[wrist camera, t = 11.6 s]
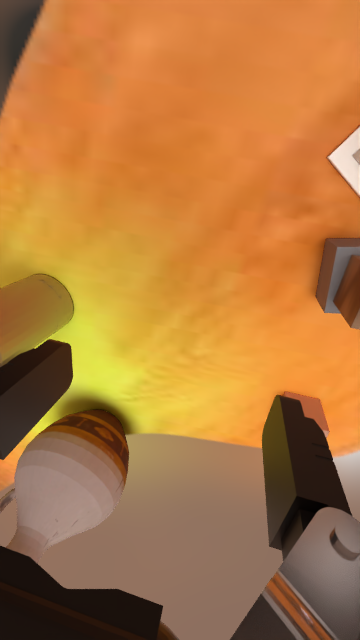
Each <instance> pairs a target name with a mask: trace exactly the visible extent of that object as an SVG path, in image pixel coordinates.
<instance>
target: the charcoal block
mask: <svg viewBox="0 0 360 640" xmlns="http://www.w3.org/2000/svg"><path fill="white" fill-rule="evenodd" d="M351 255H358V256H360V238H327V239H326V241H325V247H324V252H323V258H322V263H321V269H320V275H319V280H318V286H317V292H316V298H317V300H318V302H319V304H320V306H321V308H322V309H323V311H324V313H340V311H339V310H338V308H337V307H336V306H335V304H334V303H333V300H334V297H335V295H336V292H337V290H338V288H339V285H340V283H341V280H342V278H343V275H344V273H345V270H346V268H347V265H348V263H349V260H350V258H351Z"/></svg>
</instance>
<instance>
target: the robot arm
mask: <svg viewBox="0 0 360 640" xmlns="http://www.w3.org/2000/svg"><path fill="white" fill-rule="evenodd" d="M72 316H73V303H72V299H71V297H70V295H69V293H68V292H67V290H66V289H65V287H64V286H63V285H62V284H61V283H60V282H58V281H57V280H56V279H54V278H52V277H50V276H47V275H44V274H36V275H32V276H30V277H27V278H25V279H23V280H20V281H18V282H15V283H12V284H10V285H7V286H5V287H2V288H0V459H2V460H4V459H5V458H6V457H7V456H8V454H9V453H10V452H11V451H12V450H13V449H14V448H15V447H16V446H17V445H18V443H19V442H20V441H21V440H22V439H23V438H24V437H25V436H26V435H27V434H28V433H29V431H30V430H31V429H32V428H33V427H34V426H35V425H36V424H37V423H38V422H39V420H40V419H41V418H42V417H43V416H44V415H45V414H46V413H47V412H48V411H49V409H50V408H51V407H52V406H53V405H54V404H55V403H56V402H57V401H58V400H59V399H60V397H61V396H62V395H63V394H64V393H65V392H66V391H67V390H68V388H69V387H70V385H71V382H72V378H73V368H72V352H71V346H70V344H68V343H64V342H60V341H56V340H52V339H49V340H47V341H46V342H44V343H43V344H41V345H40V346H39V347H37V348H36V349H34V347H36V346H37V345H38V344H40V343H41V342H42V341H44V340H45V339H47V338H48V337H49V336H51V335H52V334H53V333H55V332H56V331H58V330H59V329H60V328H62V327H63V326H64V325H66V324H67V323H68V322H69V321H70V320H71V318H72ZM262 450H263V464H264V478H265V492H266V506H267V521H268V534H269V546H270V547H273V548H276V549H279V550H282V554H283V563H282V565H281V566H280V568H279V569H278V571H277V572H276V574H275V575H274V577H273V578H271V580H270V581H269V583H268V584H267V586H266V587H265V588H264V590H263V591H262V593H261V594H260V596H259V597H258V599H257V600H256V602H255V603H254V605H253V606H252V608H251V609H250V611H249V612H248V613H247V615H246V616H245V618H244V619H243V621H242V622H241V624H240V625H239V627H238V628H237V630H236V631H235V633H234V634H233V636H232V637H231V639H230V640H360V522H359V521H357V520H356V519H355V518H354V517H353V516H352V514H351V512H350V508H349V506H348V502H347V500H346V496H345V494H344V491H343V488H342V485H341V482H340V479H339V476H338V473H337V470H336V467H335V464H334V462H333V458H332V455H331V452H330V450H329V446H328V443H327V440H326V437H325V434H324V432H323V431H322V429H321V428H320V427H319V425H318V424H317V423H316V421H315V420H314V419H312V418H308V417H305V416H304V412H303V408H302V405H301V402H300V400H297V399H293V398H289V397H285V396H281V395H276V397H275V399H274V401H273V404H272V406H271V409H270V412H269V414H268V417H267V420H266V422H265V425H264V429H263V435H262ZM162 609H163V606H162V605H159V604H156V603H154V602H151V601H148V600H145V599H143V598H140V597H138V596H135V595H132V594H129V593H127V592H124V591H121V590H119V589H66V588H64V587H62V586H61V585H60V584H59V583H58V582H57V581H55V580H54V579H53V578H52V577H51V576H50V575H49V574H48V573H47V572H46V571H45V570H44V569H42V568H41V567H40V566H39V565H38V564H37V563H36V562H35V561H34V560H33V559H32V558H31V557H29V556H27V555H24V554H21V553H19V552H16V551H13V550H11V549H8V548H5V547H2V546H0V640H179V639H178V638H177V637H176V635H175V634H174V633H173V632H172V631H171V630H170V629H169V628H168V627H167V626H166V625H164V623H162V622H161V621H160V619H161V614H162Z"/></svg>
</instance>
